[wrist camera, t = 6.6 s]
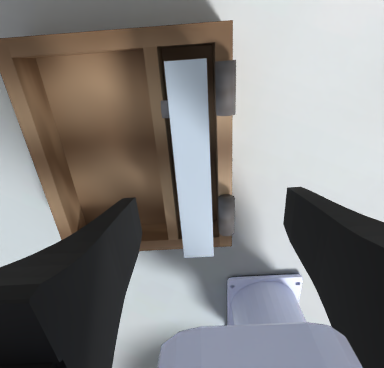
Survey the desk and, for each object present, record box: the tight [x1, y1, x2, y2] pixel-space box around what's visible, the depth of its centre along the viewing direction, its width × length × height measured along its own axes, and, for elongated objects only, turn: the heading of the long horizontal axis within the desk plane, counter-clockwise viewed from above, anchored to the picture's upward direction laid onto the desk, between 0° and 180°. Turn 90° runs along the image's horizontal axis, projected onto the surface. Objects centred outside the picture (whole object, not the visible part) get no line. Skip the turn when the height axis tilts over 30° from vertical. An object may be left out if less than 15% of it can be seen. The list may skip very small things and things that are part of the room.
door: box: [161, 58, 214, 258], centre depth 17 cm, size 12×3×6 cm, turn 4°
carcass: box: [0, 20, 236, 251], centre depth 19 cm, size 16×14×5 cm
